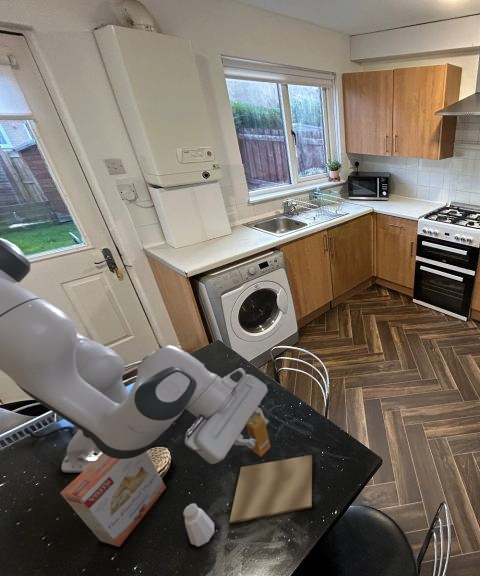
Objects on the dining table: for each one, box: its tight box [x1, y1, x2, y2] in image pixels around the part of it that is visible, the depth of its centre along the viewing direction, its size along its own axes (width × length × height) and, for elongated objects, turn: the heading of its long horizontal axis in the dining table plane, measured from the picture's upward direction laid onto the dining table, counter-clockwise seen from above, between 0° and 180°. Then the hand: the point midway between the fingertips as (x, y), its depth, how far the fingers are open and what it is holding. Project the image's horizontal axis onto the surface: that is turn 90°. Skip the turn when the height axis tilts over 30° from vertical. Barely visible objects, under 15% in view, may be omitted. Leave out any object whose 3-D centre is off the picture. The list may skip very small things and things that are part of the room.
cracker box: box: [59, 450, 167, 548], centre depth 74 cm, size 14×6×21 cm, turn 168°
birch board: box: [229, 454, 313, 524], centre depth 85 cm, size 20×14×1 cm
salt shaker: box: [182, 503, 215, 547], centre depth 73 cm, size 5×5×11 cm
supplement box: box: [245, 414, 272, 457], centre depth 74 cm, size 3×3×10 cm
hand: (260, 434), depth 73 cm, fingers closed on supplement box, 4 cm apart
